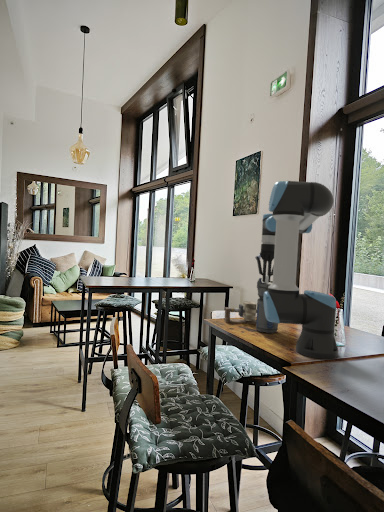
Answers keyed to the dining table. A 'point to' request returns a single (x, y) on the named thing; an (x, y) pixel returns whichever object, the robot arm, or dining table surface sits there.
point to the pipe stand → (228, 320)
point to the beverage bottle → (261, 320)
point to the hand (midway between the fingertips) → (265, 288)
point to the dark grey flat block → (241, 310)
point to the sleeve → (249, 311)
